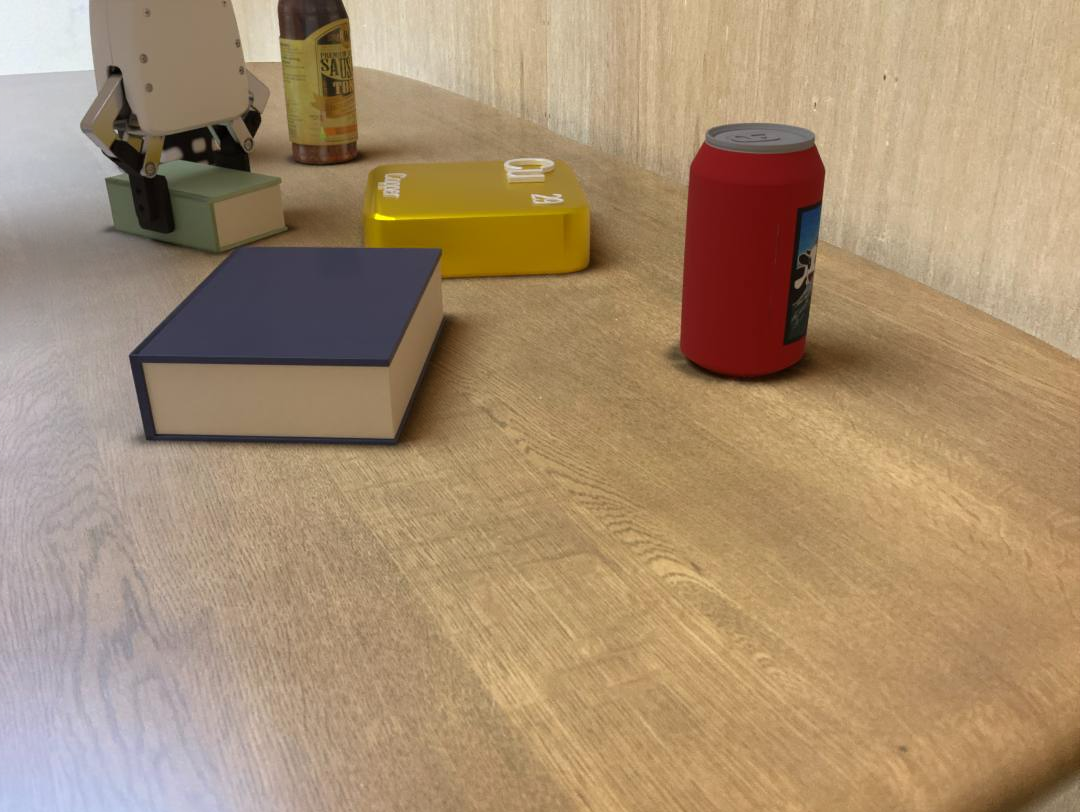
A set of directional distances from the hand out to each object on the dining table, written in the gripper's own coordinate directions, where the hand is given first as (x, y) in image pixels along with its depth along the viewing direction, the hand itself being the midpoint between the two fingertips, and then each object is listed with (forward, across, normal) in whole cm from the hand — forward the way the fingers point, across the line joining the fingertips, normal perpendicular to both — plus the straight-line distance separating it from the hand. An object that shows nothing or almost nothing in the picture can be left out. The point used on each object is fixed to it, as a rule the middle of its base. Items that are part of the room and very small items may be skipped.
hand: (198, 216), depth 85 cm
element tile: (+1, -8, +20) cm, 21 cm away
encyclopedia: (+1, +16, +26) cm, 31 cm away
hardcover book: (+1, 0, 0) cm, 1 cm away
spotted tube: (+1, -14, -20) cm, 24 cm away
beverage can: (+1, +2, +45) cm, 45 cm away
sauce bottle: (+1, -23, -9) cm, 24 cm away
